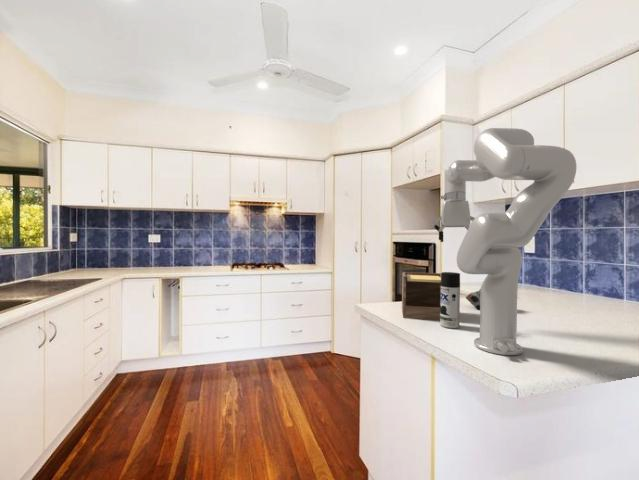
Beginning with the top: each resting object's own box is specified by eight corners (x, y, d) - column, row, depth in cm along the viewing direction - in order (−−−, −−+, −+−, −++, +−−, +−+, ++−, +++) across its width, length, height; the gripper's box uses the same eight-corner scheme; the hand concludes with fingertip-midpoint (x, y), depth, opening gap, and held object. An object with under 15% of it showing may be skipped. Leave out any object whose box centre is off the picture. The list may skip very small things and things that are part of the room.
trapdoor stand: (447, 321, 119) (448, 278, 119) (402, 317, 123) (403, 276, 123) (441, 311, 136) (441, 273, 135) (401, 308, 140) (402, 272, 140)
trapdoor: (443, 282, 121) (443, 279, 121) (407, 281, 124) (407, 277, 124) (438, 278, 134) (438, 275, 134) (406, 276, 138) (406, 274, 138)
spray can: (436, 324, 114) (436, 272, 114) (450, 323, 116) (450, 271, 116) (449, 329, 108) (450, 274, 107) (463, 328, 110) (464, 273, 110)
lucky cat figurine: (484, 304, 151) (499, 281, 146) (500, 319, 140) (517, 295, 135) (460, 296, 147) (475, 273, 142) (474, 311, 136) (491, 286, 131)
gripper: (432, 197, 116) (432, 241, 115) (482, 195, 111) (482, 241, 111) (430, 200, 123) (430, 242, 122) (477, 199, 118) (477, 242, 118)
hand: (455, 242), depth 116 cm, fingers open, 9 cm apart
